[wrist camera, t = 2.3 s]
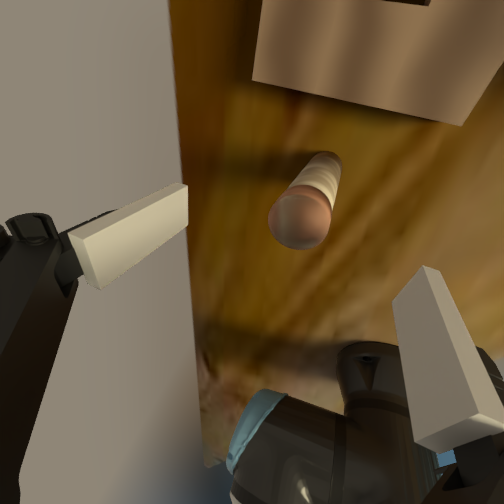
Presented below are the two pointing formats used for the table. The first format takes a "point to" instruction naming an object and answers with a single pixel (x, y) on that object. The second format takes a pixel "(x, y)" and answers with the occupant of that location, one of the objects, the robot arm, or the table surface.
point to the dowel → (307, 204)
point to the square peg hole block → (384, 52)
